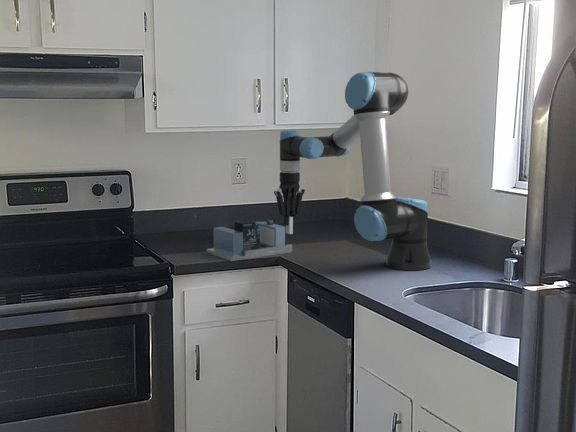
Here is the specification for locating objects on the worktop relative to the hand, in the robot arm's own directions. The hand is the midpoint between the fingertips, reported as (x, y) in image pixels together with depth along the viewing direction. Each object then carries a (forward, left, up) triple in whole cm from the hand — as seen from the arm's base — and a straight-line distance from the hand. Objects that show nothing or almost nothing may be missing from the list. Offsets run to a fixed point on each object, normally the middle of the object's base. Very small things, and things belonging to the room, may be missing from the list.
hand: (289, 233), depth 283 cm
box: (0, +19, -4) cm, 19 cm away
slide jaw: (0, +9, -4) cm, 10 cm away
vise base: (0, +18, -5) cm, 19 cm away
